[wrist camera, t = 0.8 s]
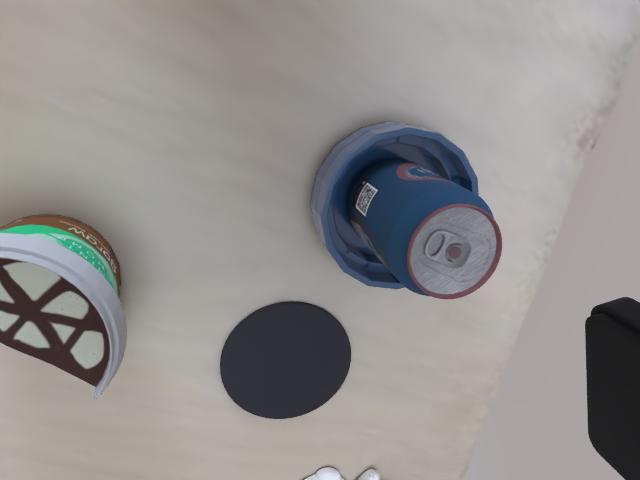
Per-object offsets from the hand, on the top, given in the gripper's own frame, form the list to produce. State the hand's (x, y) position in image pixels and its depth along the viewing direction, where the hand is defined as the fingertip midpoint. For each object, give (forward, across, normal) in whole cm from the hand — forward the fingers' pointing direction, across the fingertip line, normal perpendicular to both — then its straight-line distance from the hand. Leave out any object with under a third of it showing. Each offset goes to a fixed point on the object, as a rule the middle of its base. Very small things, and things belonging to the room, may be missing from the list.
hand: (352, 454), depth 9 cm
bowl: (+31, -10, +6) cm, 33 cm away
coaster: (+31, 0, +18) cm, 36 cm away
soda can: (+31, -10, +6) cm, 33 cm away
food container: (+31, +13, +3) cm, 34 cm away
